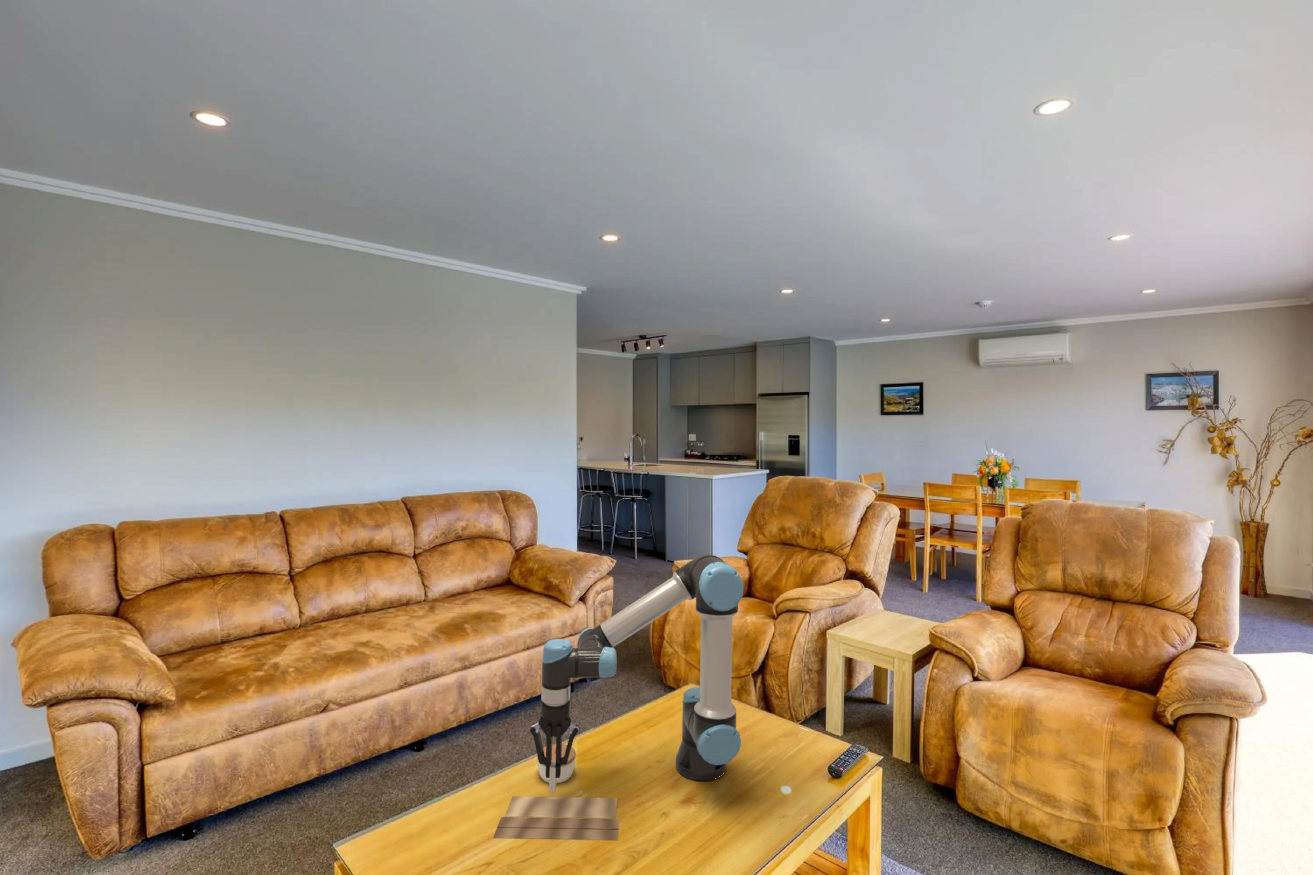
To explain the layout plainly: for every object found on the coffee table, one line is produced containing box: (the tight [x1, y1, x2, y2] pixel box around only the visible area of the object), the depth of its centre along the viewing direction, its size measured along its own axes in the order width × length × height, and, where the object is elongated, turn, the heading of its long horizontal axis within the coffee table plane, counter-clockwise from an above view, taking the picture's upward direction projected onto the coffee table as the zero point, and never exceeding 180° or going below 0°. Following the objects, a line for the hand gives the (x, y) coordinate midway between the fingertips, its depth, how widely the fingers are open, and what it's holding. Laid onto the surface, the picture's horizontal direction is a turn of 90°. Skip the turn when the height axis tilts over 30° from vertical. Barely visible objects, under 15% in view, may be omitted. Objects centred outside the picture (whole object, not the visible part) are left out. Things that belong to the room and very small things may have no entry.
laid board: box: [492, 816, 620, 841], centre depth 151 cm, size 30×8×2 cm, turn 91°
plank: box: [504, 795, 618, 819], centre depth 160 cm, size 28×8×2 cm, turn 91°
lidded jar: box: [537, 743, 577, 784], centre depth 174 cm, size 11×11×9 cm
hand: (552, 788), depth 162 cm, fingers closed
